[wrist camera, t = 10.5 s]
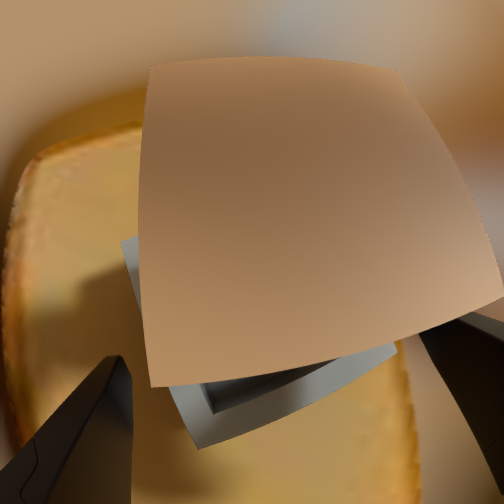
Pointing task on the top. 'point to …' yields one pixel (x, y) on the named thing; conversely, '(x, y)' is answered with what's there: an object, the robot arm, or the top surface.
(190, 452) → the top surface
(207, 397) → the slate well
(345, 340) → the walnut block
